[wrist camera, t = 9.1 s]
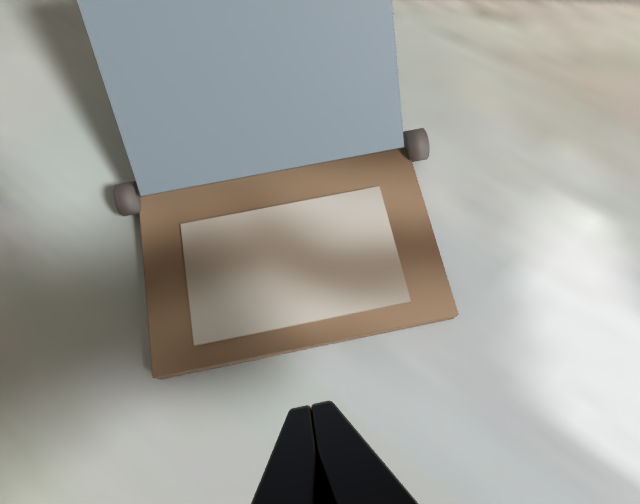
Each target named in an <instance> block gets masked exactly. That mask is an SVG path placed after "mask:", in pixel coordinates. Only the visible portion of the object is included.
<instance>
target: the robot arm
mask: <svg viewBox="0 0 640 504" xmlns="http://www.w3.org/2000/svg"><path fill="white" fill-rule="evenodd" d="M251 504H418V503H417V501H416V500H415V499H414V498H413V497H412V496H411V494H410V493H409V492H408V491H407V490H406V488H405V487H404V486H403V485H402V484H401V482H400V481H399V480H398V479H397V478H396V477H395V475H394V474H393V473H392V472H391V471H390V469H389V468H388V467H387V466H386V465H385V463H384V462H383V461H382V460H381V459H380V458H379V456H378V455H377V454H376V453H375V452H374V450H373V449H372V448H371V447H370V446H369V444H368V443H367V442H366V441H365V440H364V439H363V437H362V436H361V435H360V434H359V433H358V431H357V430H356V429H355V428H354V427H353V426H352V424H351V423H350V422H349V421H348V420H347V418H346V417H345V416H344V415H343V414H342V412H341V411H340V410H339V409H338V408H337V407H336V405H335V404H334V403H333V402H332V401H325V402H320V403H316V404H313V405H312V407H310V406H308V405H306V406H302V407H297V408H292V409H291V410H290V411H289V412H288V415H287V417H286V419H285V422H284V424H283V427H282V429H281V432H280V434H279V437H278V439H277V442H276V444H275V446H274V449H273V451H272V454H271V456H270V459H269V461H268V464H267V466H266V468H265V471H264V473H263V476H262V478H261V481H260V483H259V486H258V488H257V491H256V493H255V495H254V498H253V500H252V503H251Z"/></svg>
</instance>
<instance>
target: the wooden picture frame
mask: <svg viewBox="0 0 640 504" xmlns="http://www.w3.org/2000/svg"><path fill="white" fill-rule="evenodd" d="M403 139H404V147H402V148H399V149H394V150H389V151H383V152H378V153H372V154H367V155H362V156H356V157H351V158H346V159H340V160H335V161H330V162H324V163H319V164H314V165H308V166H303V167H297V168H292V169H287V170H281V171H276V172H271V173H265V174H260V175H255V176H249V177H244V178H239V179H233V180H228V181H222V182H217V183H212V184H206V185H201V186H196V187H190V188H185V189H180V190H174V191H169V192H164V193H158V194H153V195H148V196H141V195H140V192H139V189H138V186H137V183H136V181H134V182H129V183H123V184H118V185H115V186H114V191H113V193H114V200H115V204H116V207H117V209H118V211H119V213H120V214H121V215H122V216H128V215H133V214H138V213H140V225H141V238H142V250H143V262H144V275H145V287H146V300H147V312H148V325H149V337H150V350H151V362H152V375H153V378H157V379H164V378H169V377H174V376H179V375H183V374H188V373H193V372H198V371H203V370H208V369H212V368H217V367H222V366H227V365H232V364H237V363H241V362H246V361H251V360H256V359H261V358H266V357H270V356H275V355H280V354H285V353H290V352H295V351H299V350H304V349H309V348H314V347H319V346H324V345H328V344H333V343H338V342H343V341H348V340H353V339H357V338H362V337H367V336H372V335H377V334H382V333H386V332H391V331H396V330H401V329H406V328H411V327H415V326H420V325H425V324H430V323H435V322H440V321H444V320H449V319H453V318H455V317H456V316H457V315H458V311H457V308H456V305H455V302H454V298H453V295H452V292H451V289H450V285H449V282H448V279H447V275H446V272H445V269H444V266H443V262H442V259H441V256H440V252H439V249H438V246H437V243H436V239H435V236H434V233H433V230H432V226H431V223H430V220H429V216H428V213H427V210H426V207H425V203H424V200H423V197H422V193H421V190H420V187H419V184H418V180H417V177H416V174H415V170H414V167H413V164H412V162H414V161H420V160H425V159H427V158H428V156H429V140H428V136H427V133H426V131H425V130H424V129H423V128H421V129H415V130H410V131H404V132H403Z"/></svg>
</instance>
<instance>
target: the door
mask: <svg viewBox="0 0 640 504" xmlns="http://www.w3.org/2000/svg"><path fill="white" fill-rule="evenodd" d="M77 3H78V6H79V9H80V12H81V15H82V18H83V21H84V24H85V27H86V30H87V33H88V36H89V39H90V42H91V45H92V49H93V52H94V55H95V58H96V61H97V64H98V67H99V70H100V73H101V76H102V79H103V82H104V85H105V88H106V91H107V94H108V97H109V100H110V103H111V106H112V109H113V113H114V116H115V119H116V122H117V125H118V128H119V131H120V134H121V137H122V140H123V143H124V146H125V149H126V152H127V155H128V158H129V161H130V164H131V167H132V170H133V173H134V177H135V180H136V183H137V186H138V189H139V192H140V195H141V196H145V195H150V194H156V193H161V192H166V191H172V190H177V189H182V188H188V187H193V186H198V185H204V184H209V183H214V182H220V181H225V180H231V179H236V178H241V177H247V176H252V175H257V174H263V173H268V172H273V171H279V170H284V169H289V168H295V167H300V166H306V165H311V164H316V163H322V162H327V161H332V160H338V159H343V158H348V157H354V156H359V155H364V154H370V153H375V152H381V151H386V150H391V149H397V148H402V147H404V139H403V127H402V115H401V103H400V91H399V79H398V67H397V55H396V44H395V32H394V20H393V8H392V0H77Z"/></svg>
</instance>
